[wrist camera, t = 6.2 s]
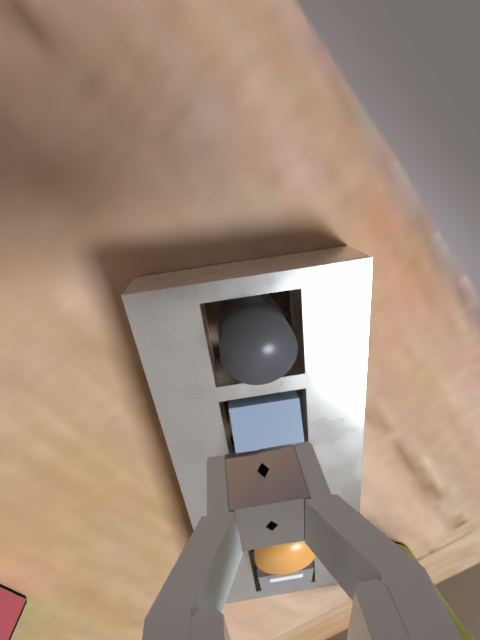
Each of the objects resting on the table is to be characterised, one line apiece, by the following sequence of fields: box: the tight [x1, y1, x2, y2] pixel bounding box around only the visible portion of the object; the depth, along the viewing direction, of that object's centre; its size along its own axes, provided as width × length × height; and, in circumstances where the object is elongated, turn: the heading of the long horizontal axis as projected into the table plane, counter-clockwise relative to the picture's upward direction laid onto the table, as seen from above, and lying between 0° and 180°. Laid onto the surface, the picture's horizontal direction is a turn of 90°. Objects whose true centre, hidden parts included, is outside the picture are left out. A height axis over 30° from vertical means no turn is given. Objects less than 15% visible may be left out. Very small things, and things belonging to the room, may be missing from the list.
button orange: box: [254, 541, 316, 575], centre depth 21 cm, size 4×4×4 cm
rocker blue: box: [228, 390, 304, 453], centre depth 19 cm, size 6×4×2 cm
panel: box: [121, 246, 373, 604], centre depth 22 cm, size 28×12×3 cm, turn 7°
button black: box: [218, 294, 298, 385], centre depth 17 cm, size 4×4×4 cm
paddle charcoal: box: [257, 562, 314, 594], centre depth 24 cm, size 6×4×2 cm
